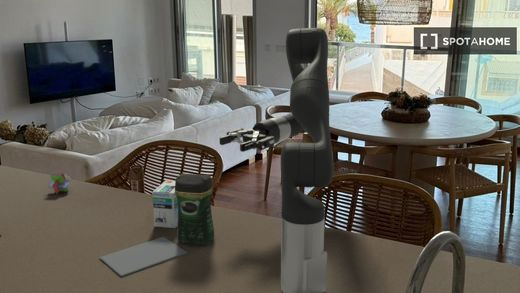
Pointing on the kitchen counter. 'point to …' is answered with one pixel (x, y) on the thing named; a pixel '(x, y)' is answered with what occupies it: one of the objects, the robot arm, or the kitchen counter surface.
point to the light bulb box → (165, 205)
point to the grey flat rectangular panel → (142, 256)
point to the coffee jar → (194, 209)
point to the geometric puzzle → (60, 183)
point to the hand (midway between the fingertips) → (230, 144)
